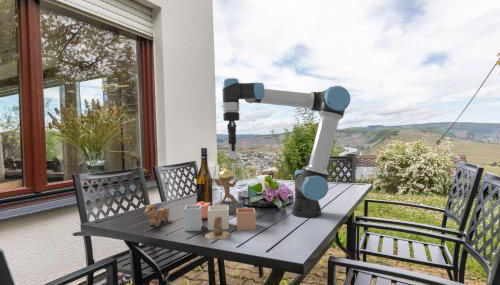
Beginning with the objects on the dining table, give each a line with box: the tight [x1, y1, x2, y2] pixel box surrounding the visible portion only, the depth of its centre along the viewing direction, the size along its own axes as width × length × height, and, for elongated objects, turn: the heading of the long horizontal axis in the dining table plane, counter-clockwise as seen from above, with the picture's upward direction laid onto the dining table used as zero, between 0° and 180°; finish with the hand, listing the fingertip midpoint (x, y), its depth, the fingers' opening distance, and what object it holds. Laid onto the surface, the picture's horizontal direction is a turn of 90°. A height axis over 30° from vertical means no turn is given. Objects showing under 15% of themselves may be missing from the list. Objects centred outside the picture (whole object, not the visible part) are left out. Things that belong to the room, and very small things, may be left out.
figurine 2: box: [214, 166, 244, 216], centre depth 160 cm, size 14×11×25 cm
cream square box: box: [207, 205, 230, 231], centre depth 134 cm, size 9×9×9 cm
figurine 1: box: [143, 204, 170, 227], centre depth 142 cm, size 7×16×10 cm, turn 158°
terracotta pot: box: [235, 207, 257, 231], centre depth 133 cm, size 8×8×8 cm
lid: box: [204, 216, 232, 241], centre depth 122 cm, size 10×10×8 cm
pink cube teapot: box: [194, 201, 212, 219], centre depth 151 cm, size 8×12×8 cm, turn 83°
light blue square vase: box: [183, 204, 203, 232], centre depth 132 cm, size 7×7×10 cm
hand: (232, 157), depth 141 cm, fingers open, 13 cm apart
